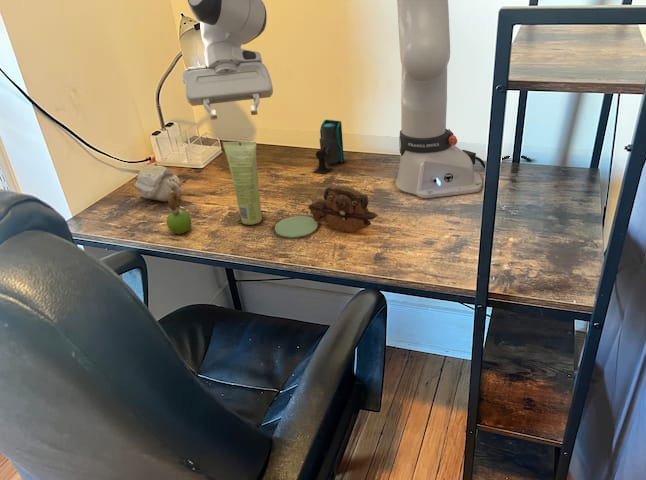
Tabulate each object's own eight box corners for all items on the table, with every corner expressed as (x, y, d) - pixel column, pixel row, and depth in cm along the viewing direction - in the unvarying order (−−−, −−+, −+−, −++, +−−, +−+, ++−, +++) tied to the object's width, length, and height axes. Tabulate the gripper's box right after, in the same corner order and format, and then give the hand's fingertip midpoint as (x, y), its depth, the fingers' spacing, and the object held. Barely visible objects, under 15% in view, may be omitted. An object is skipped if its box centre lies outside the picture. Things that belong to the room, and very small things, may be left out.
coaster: (319, 216, 128) (319, 215, 128) (315, 237, 120) (315, 235, 120) (278, 218, 129) (277, 216, 129) (271, 238, 120) (271, 237, 120)
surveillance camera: (306, 130, 145) (324, 119, 153) (310, 171, 152) (328, 159, 159) (324, 132, 143) (342, 121, 150) (328, 174, 150) (344, 161, 157)
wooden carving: (306, 228, 123) (302, 188, 117) (314, 219, 126) (311, 180, 121) (374, 240, 118) (374, 199, 112) (380, 230, 122) (380, 190, 116)
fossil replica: (177, 206, 137) (189, 192, 146) (173, 175, 133) (185, 163, 142) (130, 204, 137) (145, 191, 146) (125, 173, 133) (140, 161, 142)
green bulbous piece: (195, 223, 128) (183, 176, 122) (192, 236, 123) (180, 188, 117) (172, 226, 128) (159, 179, 121) (168, 239, 123) (154, 191, 116)
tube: (257, 213, 132) (244, 135, 121) (268, 220, 128) (256, 141, 118) (237, 220, 129) (222, 142, 118) (247, 228, 125) (233, 147, 115)
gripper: (178, 60, 124) (186, 114, 121) (266, 52, 128) (276, 104, 125) (183, 76, 130) (191, 127, 128) (267, 67, 134) (276, 117, 131)
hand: (234, 116), depth 126 cm, fingers open, 8 cm apart
